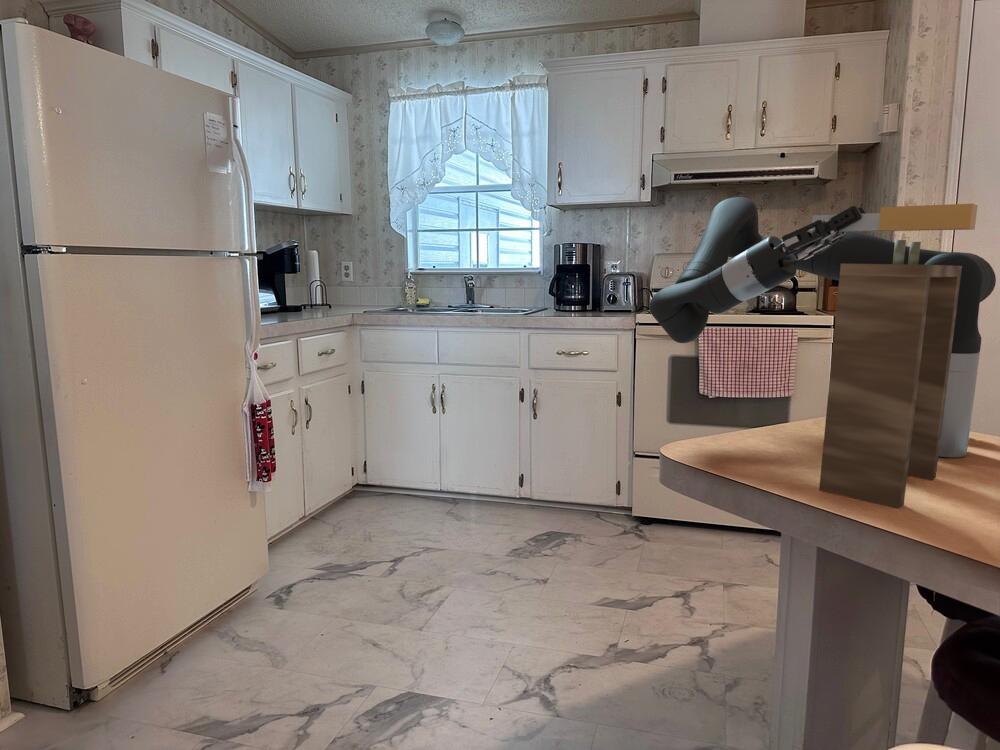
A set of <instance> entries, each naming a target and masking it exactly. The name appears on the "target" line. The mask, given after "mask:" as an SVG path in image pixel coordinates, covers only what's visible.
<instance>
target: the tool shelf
mask: <svg viewBox="0 0 1000 750" xmlns="http://www.w3.org/2000/svg"><path fill="white" fill-rule="evenodd" d="M894 242H895V246H894V255H893V264H841V266H840V277H839V280H838V290H837V298H836V299H837V300H836V308H835V318H834V319H835V320H834V330H833V342H832V351H831V352H832V353H831V362H830V372H829V382H828V393H827V395H828V396H827V403H826V404H827V406H826V415H825V426H824V436H823V445H822V455H821V456H822V457H821V466H820V467H821V468H820V476H819V478H820V479H819V485H818V486H819V487H818V489H819V490H818V491H820V492H821V491H822V492H825V493H830V494H834V495H839V496H843V497H847V498H851V499H855V500H858V501H865V502H868V503H872V504H877V505H882V506H886V507H890V508H895V509H900V510H901V508H902V507H903V506H904V505H905V499H906V498H905V497H906V489H907V482H908V481H907V480H908V477H914V478H918V479H922V480H928V481H934V480H935V479H936V477H937V471H938V463H939V457H940V456H939V448H940V440H941V432H942V424H943V416H944V408H945V399H946V391H947V383H948V375H949V367H950V359H951V351H952V343H953V335H954V327H955V319H956V310H957V302H958V294H959V286H960V278H961V270H962V266H948V265H918V262H919V254H920V249H921V244H922V243H921V241H910V242H909V247H910V249H909V258H908V264H904V255H905V246H907V245H906V244H907V240H906V239H895V240H894Z"/></svg>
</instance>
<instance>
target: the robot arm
mask: <svg viewBox="0 0 1000 750" xmlns="http://www.w3.org/2000/svg"><path fill="white" fill-rule="evenodd" d="M867 213H868V212H866V210H865V208H864V207H858V206H855V205H852V206H850V207H848V208H847V209H845V210H843V211H841V212H840V213H838V215H837V214H835V215H836V216H834V217H832V218H831V220H830V218H827V219H824V220H823V221H822V220H817V221H815V222H814V223H812V222H811V223H809V224H807V225H805V226H803V227H801V228H798V229H796V230H794V231H792V232H789V233H787V234H784V235H783V236H782V237H781V238H779V237H777V236H774V235H771V236H764V235H762V234H760V232H759V229H760V228H759V211H758V207H757V205H756V204H755V202H754V201H753V200H752V199H749V198H748V197H747V198H746V197H742V196H735V197H730V198H726V199H723V200H722V201H720V202H718V204H716V205H715V206H714V208H713V209H712V211H711V213H710V216H709V219H708V222H707V225H706V227H705V229H704V232H703V234H702V236H701V239H700V242H699V243H698V245H697V247H696V249H695V252H694V253H693V256H692V257H691V259H690V260H689V262H688V263H687V265H686V266H685V268H684V269H683V271H682V272H681V274H680V275H679V276H678V278H677V280H676V282H675V284H671V285H668V286H666V287H664V288H662V289H660V290H658V291H657V292H656V293H655V294H654V295H653V296H652V298H651V299H650V302H649V305H648V306H649V307H648V309H649V313H650V314H651V315H652V317H653V319H655V321H656V322H657V323H658V324H659V326H661V328H662V329H663V331H665V332H666V334H667V335H668V336H669V338H670V339H671V340H673V341H674V342H676V343H679V344H687V343H690V342H692V341H694V340H696V339H698V337H699V336H700V335H701V334H702V332H703V331H704V330H705V328H706V326H707V324H708V320H709V316H710V313H713V314H717V315H718V314H722V313H724V312H727V311H728V310H730V309H732V308H734V307H736V306H738V305H740V304H741V303H744V302H745V301H748V300H750V299H753V298H755V297H759V295H760V296H761V295H762V294H764V293H765V292H766V293H767V292H768V291H769V290H772V289H773V288H774V289H775V287H777V286H779V285H781V284H783V283H785V282H786V281H788V280H790V279H793V278H794V277H795V276H796V274H797V271H801V272H805V273H808V274H811V275H815V276H819V277H822V278H825V279H826V278H827V279H830V280H834V281H839V277H840V266H841V264H893V255H894V246H895V241H891V240H889V239H885V238H883V237H878V236H875V235H871V234H867V233H863V232H861V231H850V232H836V230H837V231H840V230H842V229H844V228H846V227H848V226H850V225H851V224H853V223H855V222H857V221H859V220H860V219H861V218H862V215H861V214H867ZM909 249H910V246H907V245H906V246H905V255H904V264H908V258H909ZM729 258H730V260H729ZM728 260H729V261H728ZM918 265H948V266H962V270H961V278H960V286H959V294H958V302H957V310H956V319H955V327H954V335H953V343H952V351H951V359H950V367H949V375H948V383H947V391H946V399H945V408H944V416H943V424H942V432H941V440H940V448H939V456H938V457H941V458H942V457H943V458H963V457H966V456H967V455H968V449H969V447H968V446H969V440H970V439H969V438H970V432H971V424H972V416H973V408H974V403H975V401H974V400H975V394H976V388H977V386H976V385H977V380H978V370H979V362H980V356H981V355H980V353H981V346H982V336H981V334H980V331H979V323H978V322H979V313H980V305H981V304H980V303H981V302H984V301H986V299H987V298H988V297H989V296H990V295H991V294H992V293H993V291H994V289H995V287H996V281H997V278H996V277H997V276H996V273H995V270H994V268H993V267H992V266H991V264H990V263H989V262H988V261H987V260H986V259H984V258H983V257H981V256H979V255H977V254H975V253H970V252H958V251H951V252H950V251H942V250H941V251H939V250H933V249H931V250H930V249H923V248H920V254H919V262H918Z"/></svg>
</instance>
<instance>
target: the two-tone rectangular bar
mask: <svg viewBox="0 0 1000 750" xmlns="http://www.w3.org/2000/svg"><path fill="white" fill-rule="evenodd" d="M977 212H978V205H977V204H974V203H951V204H930V205H929V204H927V205H926V204H925V205H924V204H923V205H903V206H900V205H899V206H898V205H897V206H881V207H880V211H879V212H877V213H875V212H874V213H873V212H872V213H871V212H869V213H868V212H866V213H867V214H861V215H862V218H861V219H860V220H859V221H857V222H855V223H853V224H851V225H850V226H848V227H846V228H844V229H842V230H840V231H837V230H836V232H850V231H856V232H899V231H900V232H908V231H909V232H911V231H962V230H963V231H970V230H976V229H975V228H976V221H977V214H978V213H977ZM838 214H839V213H838ZM838 214H816V215H815V214H813V215H812V219H811V220H812V221H811V223H814V222H815V221H817V220H822V221H823V220H824V219H827V218H830V220H831V218H832V217H834V216H836V215H838Z"/></svg>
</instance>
